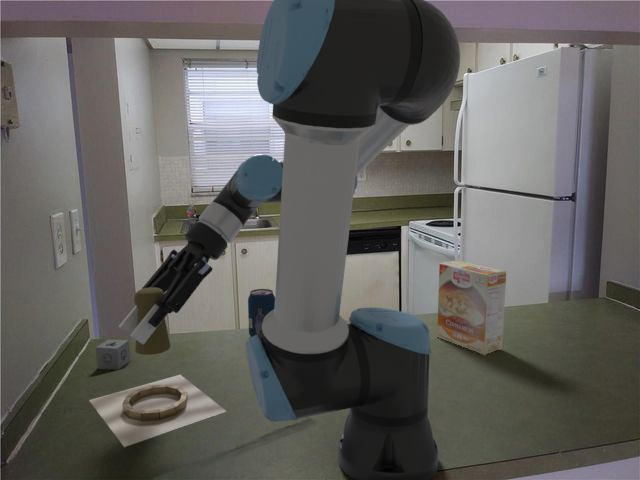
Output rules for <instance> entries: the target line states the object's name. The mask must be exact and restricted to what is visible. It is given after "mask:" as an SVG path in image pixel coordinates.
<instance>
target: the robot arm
mask: <svg viewBox="0 0 640 480" xmlns="http://www.w3.org/2000/svg"><path fill="white" fill-rule="evenodd" d="M458 39H459V38H458V37H457V34H456V31H455V29H454V27H453V25H452V23H451V21H449V18H447V17H446V15H445V14H444V13H443V11H442V10H440V9H439V8H438V7H436V6H435V5H434V4H432V3H431V2H429V1H427V0H273V1H272V2H271V5H270V6H269V9H268V11H267V13H266V16H265V19H264V22H263V25H262V30H261V34H260V39H259V45H258V49H257V50H258V51H257V59H256V74H257V78H256V79H257V83H256V84H257V88H258V93H259V95H260V97H261V99H262V100H263V101H265V102H267V103H269V104H271V105H272V113H271V114H272V119H273V120H274V121H275V122H276V123H277V125H278V126H279V127H280V128H281V129H282V131H283V132H284V143H283V144H284V146H283V159H276V158H275V157H272V156H271V155H269V154H264V153H257V154H254V155H251V156H250V157H248V158H247V159H246V160H244V161H243V162H242V163H240V165H239V166H238V168H237V169H236V171H235V172H234V173H233V175H232V177H231V178H230V179H229V180H228V181H227V183H226V184H225V185H224V186H223V188H222V189H221V190H220V192H219V193H218V194H217V195H216V196H215V198H214V199H213V200H212V201H211V202H210V203H209V204H208V206H207V207H206V208H205V209H204V210H203V212H201V214H200V215H199V217H198V221H195V222H194V223H193V224H192V225H191V227H190V228H189V229H188V230H187V232H186V233H185V235H184V237H185V240H186V241H187V243H186V245H185V246H184V247H182V249H181V250H179V251H177V250H176V249H172V250H171V251H170V252H169V254H168V255H167V258H166V259H165V260H164V261H163V262H162V264H161V265H160V266H159V267H158V268H157V270H156V271H155V272H154V273H153V275H152V276H151V277H150V278H149V279H148V281H146V283H145V284H144V285H143V286H142V288H141V289H144V288H150V287H155V288H160V289H162V290H163V291H164V293H165V295H164V296H163V298H162V299H161V301H156V302H155V303H156V304H157V305H158V306H157V305H156V304H155V305H154V306H153V307H152V308H151V310H150V311H149V312H148V313H147V315H146V316H145V317H144V318H143V320H142V321H141V322H140V323H139V325H138V326H137V321H138V307H137V306H136V305H135V306H134V307H133V308H132V309H131V311H130V312H129V313H128V314H127V315H126V317H125V318H124V319H123V320H122V321H121V322H120V324H119V326H118V327H119V328H120V329H121V330H123V331H125V332H126V333H127V334H129V336H130V337H131V338H132V339H134V340H135V341H136V340H137V341H139V342H140V343H142V344H143V345H144V343H145V342H146V341H147V340H148V338H149V337H150V336H151V334H152V333H153V332H154V331H155V329H156V328H157V327H158V326H159V324H160V323H161V322H162V320H163V319H164V318H165V319H166V317H167V315H169V314H170V315H171V313H175V314H178V313H179V312H180V310H181V309H182V308H183V307H184V305H185V304H186V303H187V302H188V301H189V299H190V297H191V296H192V295H193V294H194V292H195V291H196V290H197V288H198V287H199V285H200V284H201V283H202V282H203V281H204V279H205V278H206V277H207V276H209V275H210V273H211V272H212V271H213V267H212V266H211V265H209V264H208V263H209V261H210V260H213V261H216V260H218V259H219V258H220V257H221V256H222V255H223V253H224V252H225V250H227V248H228V243H231V242H233V240H234V238H235V237H238V236H239V232H240V231H241V230H242V229H243V227H244V226H245V224H246V223H247V222H248V220H249V219H251V217H252V216H253V214H254V213H255V212H256V211H257V210H258V209H259V207H261V206H262V205H264V204H267V203H269V204H272V203H274V204H275V203H280V212H279V228H278V229H279V230H278V245H277V263H276V278H275V279H276V280H275V295H274V296H275V309H274V310H272V311H271V312H269V313H268V314H267V315H266V316H265V318H264V319H263V323H262V334H261V336H259V335H255V336H253V337H251V336H250V337H249V338H248V340H247V342H246V357H247V358H246V359H247V364H248V368H249V374H250V379H251V382H252V387H253V391H254V394H255V397H256V401H257V404H258V407H259V409H260V411H261V414H263V416H264V417H265V419H267V420H268V421H271V422H275V423H276V422H286V421H294V422H295V421H298V420H300V419H304V418H308V417H309V418H310V417H315V416H318V415H323V414H328V413H334V412H337V411H342V410H347V409H349V411H348V415H347V418H346V420H345V423H344V428H343V431H342V433H341V436H340V438H339V440H338V445H337V446H338V447H337V448H338V449H337V451H338V455H337V456H338V457H337V458H338V459H337V461H338V464H339V466H340V469H341V470H342V471H343V472H344V473H345V475H347V476H348V477H349V478H350V479H352V480H431V479H433V478H434V476H435V475H436V474H437V472H438V467H439V448H438V444H437V442H436V440H435V438H434V436H433V430H432V427H431V422H430V419H429V413H428V412H429V387H430V385H429V384H430V381H429V379H430V358H431V357H430V355H431V354H432V349H431V337H430V329H429V327H428V325H427V324H426V322H425V321H423V320H422V319H420V318H419V317H417V316H415V315H413V314H410V313H407V312H404V311H400V310H396V309H390V308H385V307H384V308H383V307H360V308H359V307H358V308H357V309H354V310H353V311H351V313H350V316H349V318H348V321H349V323H348V322H347V321H346V320H345V319H344V317H343V316H341V315H340V313H341V303H342V295H343V294H342V293H343V287H344V277H345V269H346V261H347V253H348V252H347V251H348V243H349V237H350V236H349V235H350V226H351V218H352V210H353V202H354V201H353V200H354V194H355V193H356V189H357V187H358V176H359V175H360V173H361V172H363V171H364V169H366V167H367V166H369V164H371V162H373V160H375V158H377V157H378V156H379V155H380V153H382V152H383V151H385V149H386V148H387V147H388V146H389V145H390V144H391V143H393V142H394V140H395V139H397V138H398V137H399V136H400V134H402V133H403V132H404V131H405V130H406V129H407V128H408V127H409V126H414V125H419V124H422V123H423V122H425V121H426V120H428V119H429V118H430V117H431V116H432V115H434V113H436V112H437V110H438V109H440V107H441V106H442V105H444V103H445V102H446V101H447V99H448V97H449V96H450V95H451V93H452V92H453V90H454V87H455V85H456V82H457V79H458V75H459V71H460V67H461V66H460V64H461V49H460V43H459V40H458ZM159 306H160V307H159Z"/></svg>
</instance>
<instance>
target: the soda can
mask: <svg viewBox="0 0 640 480" xmlns="http://www.w3.org/2000/svg"><path fill="white" fill-rule="evenodd" d="M247 308H248V310H247V312H248V313H247V314H248V315H247V317H248V335H249V336H250V338H251V337H253V336H255V335H259V336H261V334H262V323H263V319H264V318H265V316H266V315H267V314H268V313H269V312H271V311H272V310H274V309H275V295H274V291H273V290H272V289H268V288H258V289H253V290H251V291H250V292H249V296H248V299H247Z"/></svg>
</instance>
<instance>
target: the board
mask: <svg viewBox="0 0 640 480" xmlns="http://www.w3.org/2000/svg"><path fill="white" fill-rule="evenodd" d="M165 384H170V385H175V386H180V387H182V388H183V389H184V390H186V391H187V392H188V402H187V406H186V408H185V409H183V410H182V411H181V412H179V413H178V414H177V415H174V416H171V417H168V418H165V419H162V420H156V421H137V420H133V419H129V418H128V417H127V416H126V415H125V414H124V413H123V405H122V404H123V402H124V400H125V397H126V396H128V395H129V394H131V393H132V392H134V391H136V390H138V389H141V388H145V387H148V386H153V385H165ZM179 400H180V398H179V397H177V396H174V395H169V394H159V395H151V396H148V397H145V398H141V399H140V400H138V401H136V402H135V403H133V404H132V405H131V406H132V407H133V408H135V409H140V410H158V409H162V408H165V407H168V406H171V405H173V404H174V403H176V402H177V401H179ZM88 401H89V403H91V404H90V405H92V407H93V408H94V409H95V410H96V411H97V413H98V415H99V417H101V419H102V420H103V421H104V422H105V424H106V425H107V427H109V430H110V431H111V432H112V433H113V434H114V436H115V438H116V439H117V440H118V441H119V442H120V444H121V445H122V446H123V448H126V447H129V446H132V445H135V444H138V443H141V442H144V441H147V440H149V439H152V438H155V437H158V436H161V435H163V434H166V433H169V432H173V431H176V430H178V429H181V428H184V427H186V426H187V427H188V426H190V425H192V424H197V423H199V422H201V421H204V420H207V419H210V418H212V417H216V416H218V415H221V414H224V413H227V412H228V411H227V410H226V409H224V408H223V407H222V406H220V405H219V404H218V403H216V402H215V400H214V399H212V398H211V397H209V396H208V395H207V394H205V393H204V392H203V391H202V390H201V389H199V388H198V387H196V386H195V385H194V384H193V383H192V382H191V381H189V380H188V379H187V378H186V377H184V376H182V374H177V375H173V376H170V377H166V378H163V379H160V380H156V381H153V382H149V383H145V384H142V385H138V386H135V387H131V388H128V389H124V390H120V391H117V392H112V393H110V394H106V395H103V396H99V397H95V398H92V399H89V400H88Z"/></svg>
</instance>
